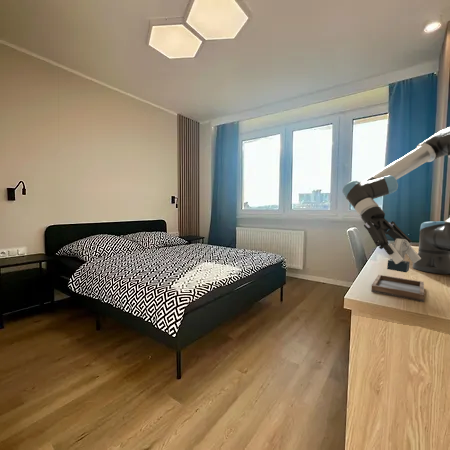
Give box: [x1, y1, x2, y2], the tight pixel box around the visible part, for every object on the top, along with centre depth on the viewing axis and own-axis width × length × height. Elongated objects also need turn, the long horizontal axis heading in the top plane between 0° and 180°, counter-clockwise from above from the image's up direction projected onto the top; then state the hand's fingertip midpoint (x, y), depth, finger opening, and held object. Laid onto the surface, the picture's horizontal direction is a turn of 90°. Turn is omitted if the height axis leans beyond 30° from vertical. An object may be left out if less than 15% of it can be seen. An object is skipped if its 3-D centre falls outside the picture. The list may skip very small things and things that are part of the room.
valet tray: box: [370, 274, 425, 303], centre depth 86 cm, size 18×14×2 cm
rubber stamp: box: [386, 239, 411, 273], centre depth 85 cm, size 6×8×11 cm
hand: (408, 261), depth 82 cm, fingers closed on rubber stamp, 8 cm apart
